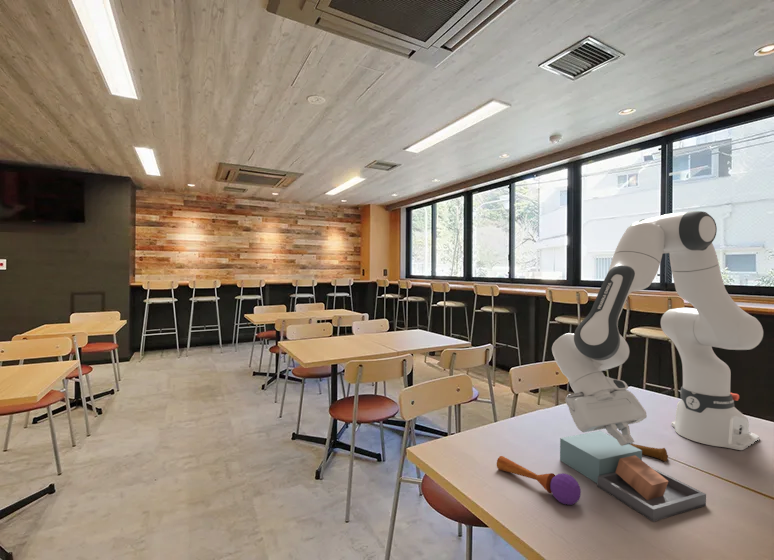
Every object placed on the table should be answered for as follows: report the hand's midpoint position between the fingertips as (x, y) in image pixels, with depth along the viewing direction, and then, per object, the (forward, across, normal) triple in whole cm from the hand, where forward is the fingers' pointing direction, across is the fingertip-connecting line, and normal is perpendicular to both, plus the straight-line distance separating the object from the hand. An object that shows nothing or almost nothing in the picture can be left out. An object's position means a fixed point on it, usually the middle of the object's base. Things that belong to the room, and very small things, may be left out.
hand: (627, 444), depth 89 cm
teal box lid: (+1, 0, +12) cm, 12 cm away
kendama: (+3, -22, +11) cm, 24 cm away
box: (+10, 0, +3) cm, 11 cm away
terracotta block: (+3, 0, +4) cm, 5 cm away
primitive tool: (-2, +15, +16) cm, 22 cm away
